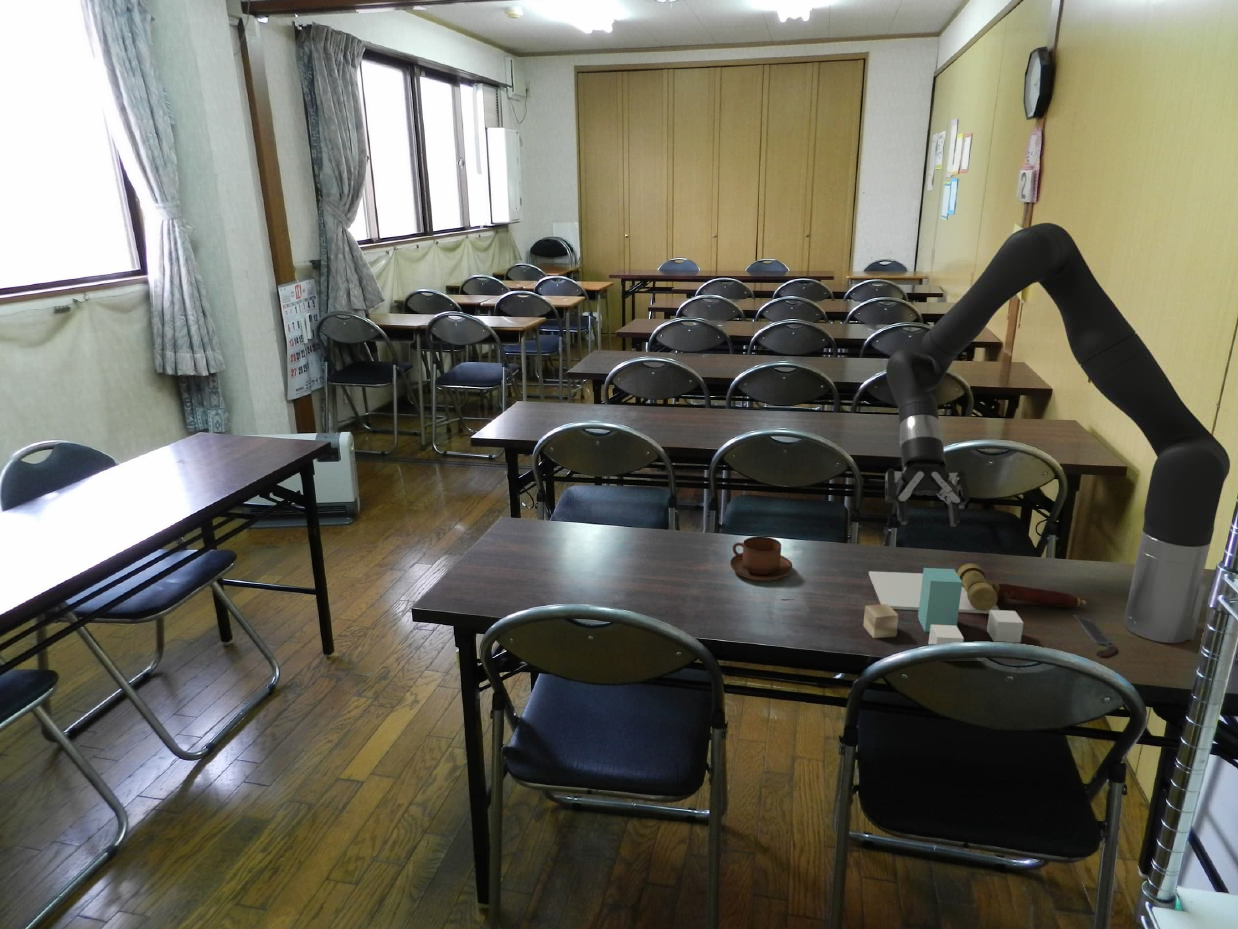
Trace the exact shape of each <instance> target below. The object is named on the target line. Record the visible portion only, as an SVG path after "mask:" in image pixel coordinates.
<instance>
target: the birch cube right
mask: <svg viewBox="0 0 1238 929" xmlns="http://www.w3.org/2000/svg"><path fill="white" fill-rule="evenodd" d="M898 623H899V614H898V613H897V612H896V611H895V609H892V608H891V607H890V606H889V605H888V604H881V603H879V604H871V605H870V604H869V605H864V614H863V628H864V629H865V630H866V631H867V633H868V634H869V635H870V636H872V638H873V639H878V638H880V639H881V638H890V637H891V638H892V637H897V633H898Z"/></svg>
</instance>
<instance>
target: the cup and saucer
mask: <svg viewBox="0 0 1238 929" xmlns="http://www.w3.org/2000/svg"><path fill="white" fill-rule="evenodd" d="M737 547H741V548H742V552H740V553H739V552H738V551H737ZM732 552H733V554H734V556H732V558H731V559H730V562H729V563H730V567H731V569H732V571H734V572H735V573H736V574H737V575H739V576H741V577H743V578H745V579H749V580H753V581H761V582H762V581H763V582H769V581H770V582H771V581H776V580H780V579H782V578H785V577H787V576H788V575H789V574H790V573H791V572H792V570H793V563H792V561H791V560H789V559H788V558H787V557H785V556H783V555H782V543H781V542H780V541H779V540H778V539H775V538H773V537H769V536H752V537H748V538H746V539H744V541H743V542H735V543H734V544H733V545H732Z"/></svg>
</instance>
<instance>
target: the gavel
mask: <svg viewBox="0 0 1238 929" xmlns="http://www.w3.org/2000/svg"><path fill="white" fill-rule="evenodd" d="M956 573H957V574H958V576H959V578H960V579H961V581H962V587H964V588H965V590H966V592H967V597H968V600H969V602H970V604H971V605H972V606H973V607H974V608H975V609H977V610H982V611H984V610H989V609H991V608H992V607H994V606H995V604H996V605H997V603H998V597H1001V598H1003V599H1009V600H1016V601H1022V602H1028V603H1035V604H1040V605H1041V604H1042V605H1047V606H1054V607H1059V608H1060V607H1061V608H1065V609H1066V608H1067V609H1068V608H1075V607H1078V608H1079V607H1080V606H1082V607H1085V606H1086V605H1087V601H1086V600H1084V599H1082V600H1081V598H1079V597H1077V596H1075V595H1072V594H1070V593H1067V592H1060V591H1054V590H1048V589H1041V588H1035V587H1028V586H1022V585H1015V584H1010V583H995V582H991V581H990V582H989V581H988V580H987V579H986V578H987V576H986V574H985V572H984V570H983V569H982V567H981V566H980V565H978V564H975V563H972V562H970V563H965V564H964V565H961V566H960V567H959V569H958V570H957V572H956Z"/></svg>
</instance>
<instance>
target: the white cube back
mask: <svg viewBox="0 0 1238 929" xmlns="http://www.w3.org/2000/svg"><path fill="white" fill-rule="evenodd" d="M928 636H929V637H928V644H929V645H930V644H944V643H948V642H963V643H964V636H963V634H962V633H961V631H960V629H959V628H958V625H957V626H954V625H931V627H930V632H929V635H928ZM928 644H927V645H928Z"/></svg>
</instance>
